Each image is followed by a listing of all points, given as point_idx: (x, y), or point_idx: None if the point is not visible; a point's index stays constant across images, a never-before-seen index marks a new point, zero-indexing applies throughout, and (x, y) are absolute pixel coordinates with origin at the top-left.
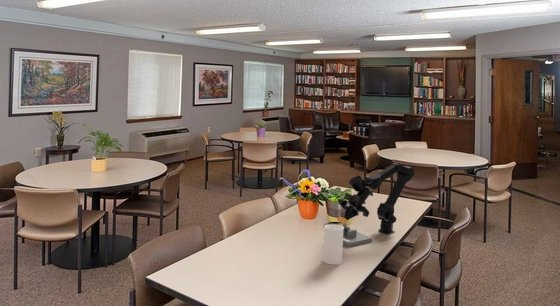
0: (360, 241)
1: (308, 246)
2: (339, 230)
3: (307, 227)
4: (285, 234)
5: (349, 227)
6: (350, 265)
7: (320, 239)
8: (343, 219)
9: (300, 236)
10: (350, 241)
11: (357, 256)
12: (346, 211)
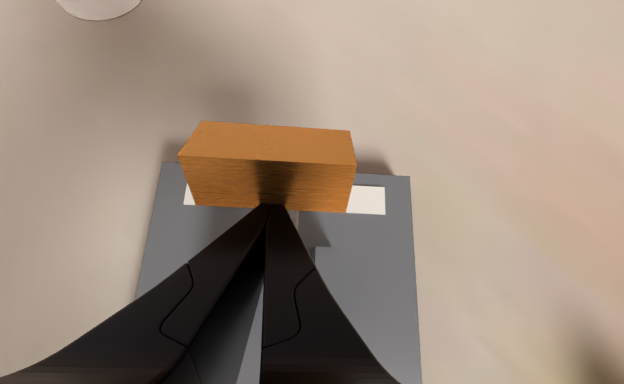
0: (143, 280)
1: (315, 17)
2: None
3: (596, 204)
4: (516, 33)
5: None
6: (4, 9)
7: (370, 126)
8: (215, 137)
9: (460, 72)
10: (177, 200)
11: (43, 113)
12: (302, 321)
